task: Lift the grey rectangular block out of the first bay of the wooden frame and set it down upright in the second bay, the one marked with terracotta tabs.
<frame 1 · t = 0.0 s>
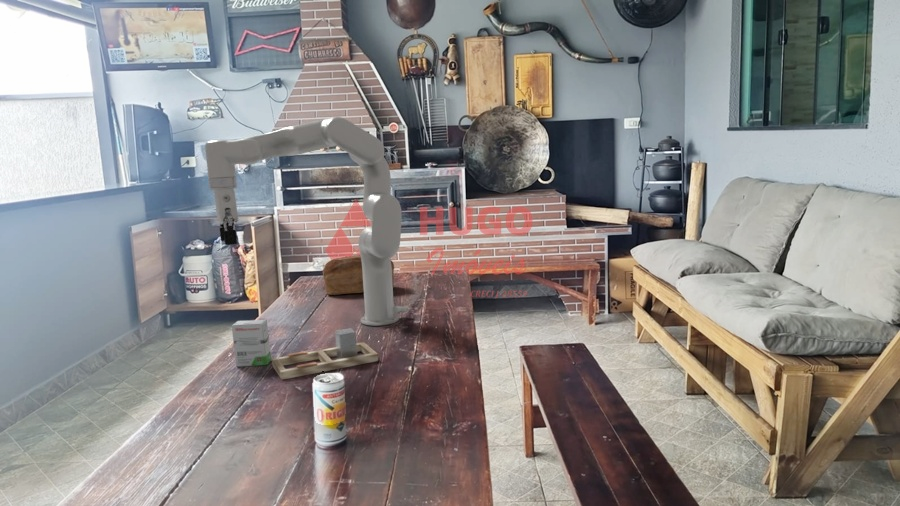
hand: (228, 242, 189), 31 cm above the table, fingers open, 9 cm apart
wooden frame: (325, 363, 175), on the table
grey rectangular block: (347, 359, 177), resting in wooden frame
bread: (360, 292, 257), on the table
ink box: (254, 364, 177), on the table
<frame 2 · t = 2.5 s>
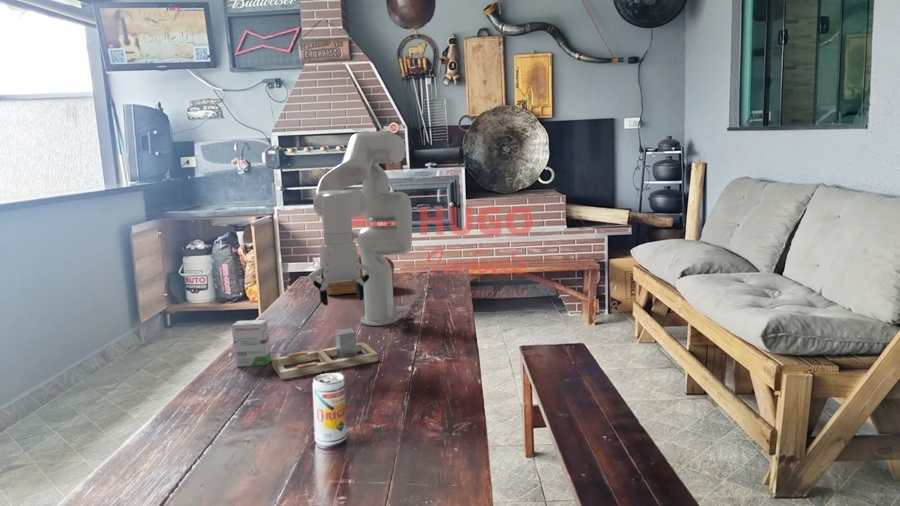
hand: (342, 301, 174), 16 cm above the table, fingers open, 9 cm apart
nothing on the table moved.
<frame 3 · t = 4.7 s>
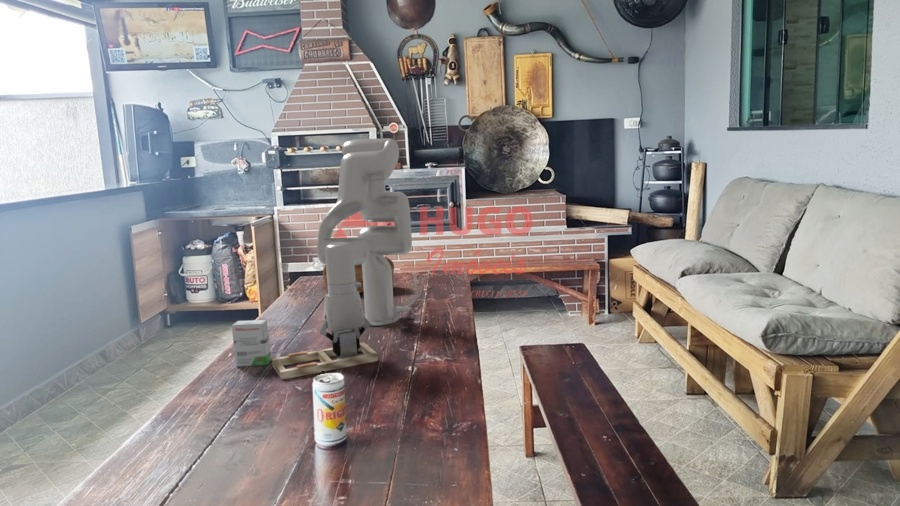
hand: (346, 352, 177), 2 cm above the table, fingers closed on grey rectangular block, 4 cm apart
grey rectangular block: (347, 359, 177), resting in wooden frame, touching gripper
everything else where it was.
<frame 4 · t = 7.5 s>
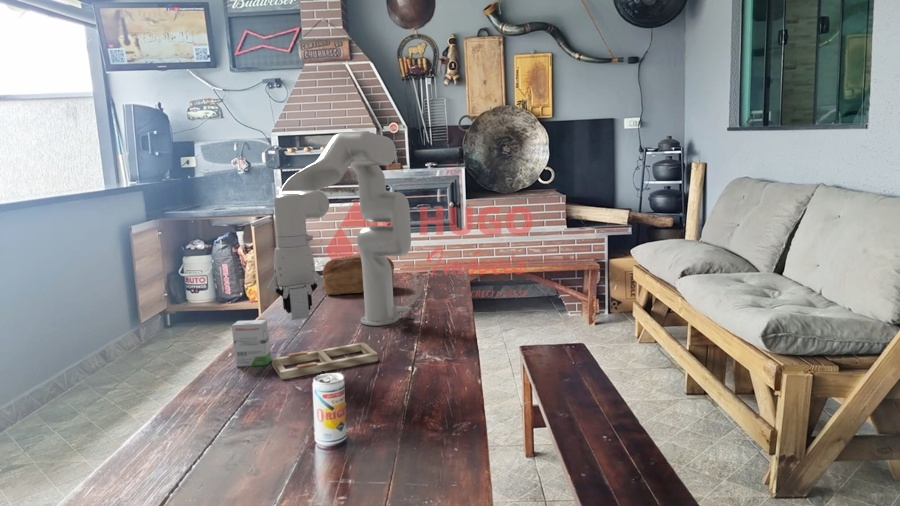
hand: (298, 309, 169), 16 cm above the table, fingers closed on grey rectangular block, 4 cm apart
grey rectangular block: (298, 316, 169), point 14 cm above the table, touching gripper
everything else where it was.
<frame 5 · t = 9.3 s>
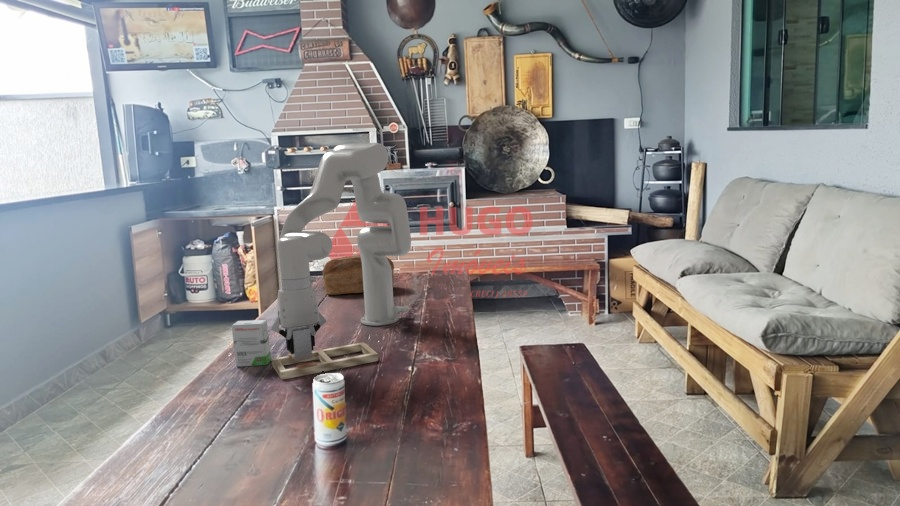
hand: (301, 350, 171), 5 cm above the table, fingers closed on grey rectangular block, 4 cm apart
grey rectangular block: (301, 357, 171), point 3 cm above the table, touching gripper
everything else where it was.
when the fingers open (3 cm above the table, at t = 10.5 s): grey rectangular block drops 1 cm, resting in wooden frame.
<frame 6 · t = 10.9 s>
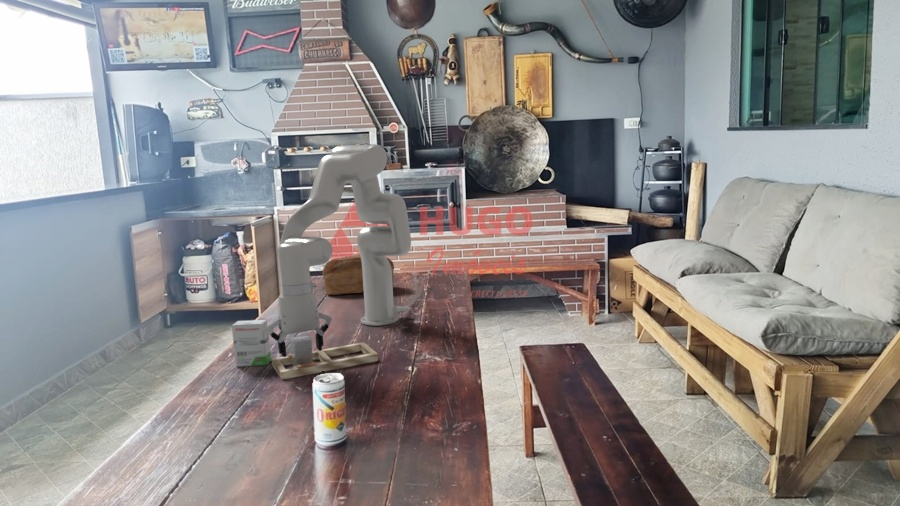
hand: (301, 352, 171), 4 cm above the table, fingers open, 9 cm apart
grey rectangular block: (303, 367, 172), resting in wooden frame
everything else where it was.
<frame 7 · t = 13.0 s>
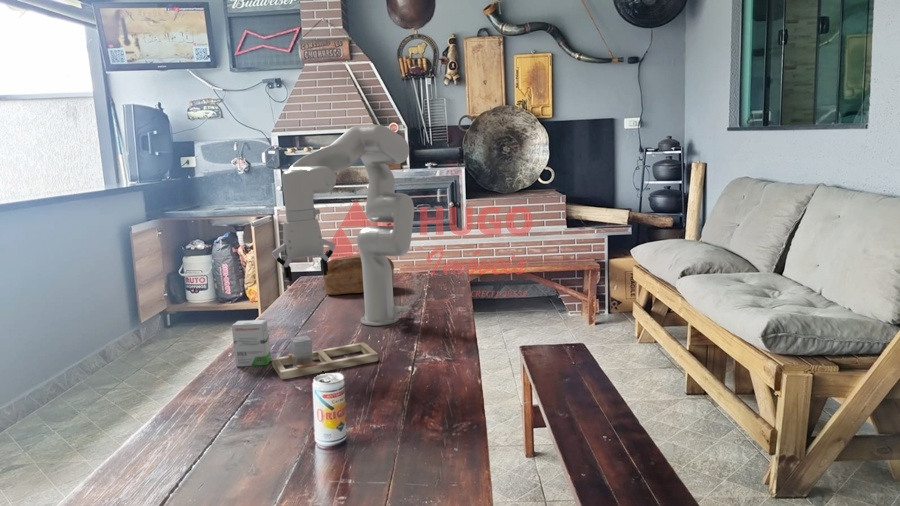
hand: (307, 277, 177), 23 cm above the table, fingers open, 9 cm apart
nothing on the table moved.
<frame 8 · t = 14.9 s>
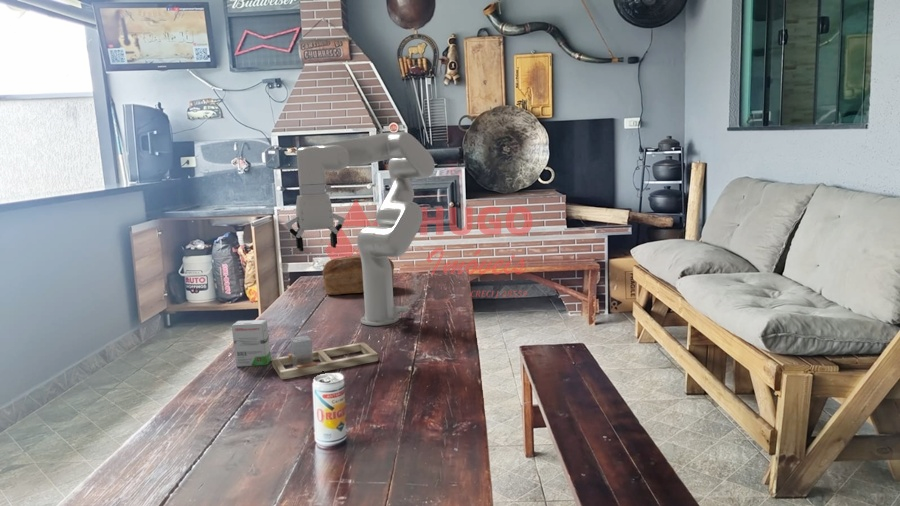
hand: (317, 248, 189), 28 cm above the table, fingers open, 9 cm apart
nothing on the table moved.
at the end: grey rectangular block inside the target area (0.4 cm from its centre), resting in wooden frame; grey rectangular block tilted 0°; the gripper is holding nothing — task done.
